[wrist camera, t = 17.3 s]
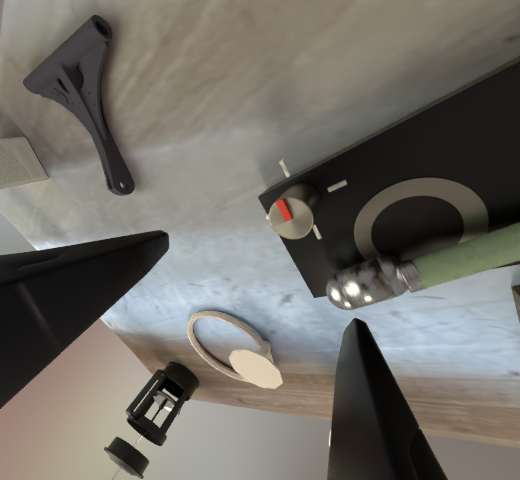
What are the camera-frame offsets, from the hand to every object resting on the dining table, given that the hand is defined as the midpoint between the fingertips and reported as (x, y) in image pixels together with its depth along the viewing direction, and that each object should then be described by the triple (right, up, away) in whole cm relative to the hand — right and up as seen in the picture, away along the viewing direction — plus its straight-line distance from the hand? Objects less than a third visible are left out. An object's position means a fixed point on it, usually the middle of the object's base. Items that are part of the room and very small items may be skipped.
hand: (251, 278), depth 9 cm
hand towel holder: (-4, -16, +28) cm, 32 cm away
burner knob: (+4, +5, +8) cm, 10 cm away
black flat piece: (-18, +15, +16) cm, 28 cm away
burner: (+12, +2, +6) cm, 14 cm away
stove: (+11, +4, +8) cm, 15 cm away
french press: (-19, -31, +43) cm, 57 cm away
